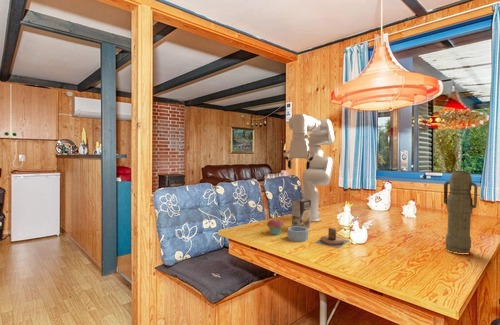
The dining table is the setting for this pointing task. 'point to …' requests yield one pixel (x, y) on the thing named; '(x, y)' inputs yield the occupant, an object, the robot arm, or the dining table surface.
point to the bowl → (297, 233)
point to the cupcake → (275, 226)
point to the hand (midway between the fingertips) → (298, 169)
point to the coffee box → (301, 213)
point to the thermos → (459, 211)
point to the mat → (331, 245)
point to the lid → (332, 238)
